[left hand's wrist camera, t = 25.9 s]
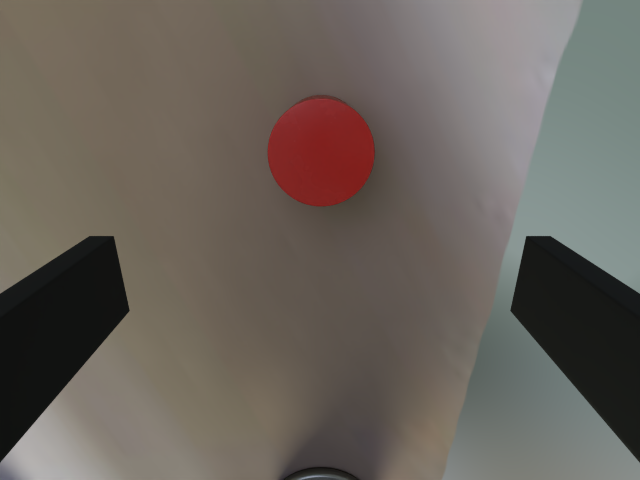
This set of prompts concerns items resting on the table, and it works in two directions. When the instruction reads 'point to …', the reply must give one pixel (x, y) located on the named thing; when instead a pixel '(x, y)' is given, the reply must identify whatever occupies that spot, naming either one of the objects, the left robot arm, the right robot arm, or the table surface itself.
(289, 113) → the canister
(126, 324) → the table surface
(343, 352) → the table surface
